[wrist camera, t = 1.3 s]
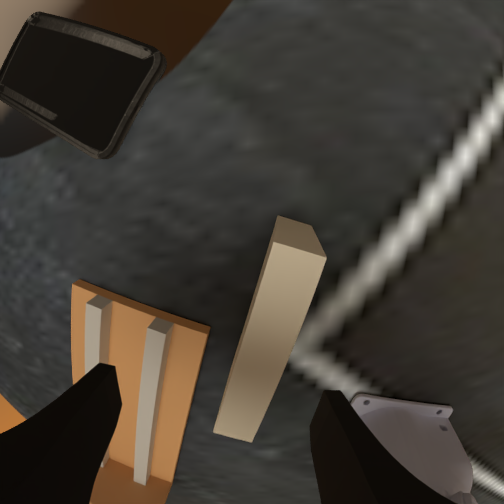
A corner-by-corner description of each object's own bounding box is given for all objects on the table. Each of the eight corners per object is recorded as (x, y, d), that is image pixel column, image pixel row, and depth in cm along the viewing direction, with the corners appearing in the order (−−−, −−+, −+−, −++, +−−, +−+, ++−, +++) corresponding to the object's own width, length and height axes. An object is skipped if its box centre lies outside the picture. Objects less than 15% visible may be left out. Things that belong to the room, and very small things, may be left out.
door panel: (311, 225, 18) (327, 257, 11) (261, 367, 21) (251, 442, 14) (277, 215, 18) (273, 241, 11) (233, 359, 21) (212, 432, 14)
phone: (32, 10, 15) (167, 52, 16) (40, 13, 16) (173, 58, 17) (-11, 94, 17) (104, 167, 18) (-2, 96, 18) (112, 166, 19)
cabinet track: (210, 327, 20) (179, 394, 13) (172, 482, 25) (153, 534, 19) (79, 279, 20) (16, 318, 14) (85, 445, 26) (56, 489, 19)
